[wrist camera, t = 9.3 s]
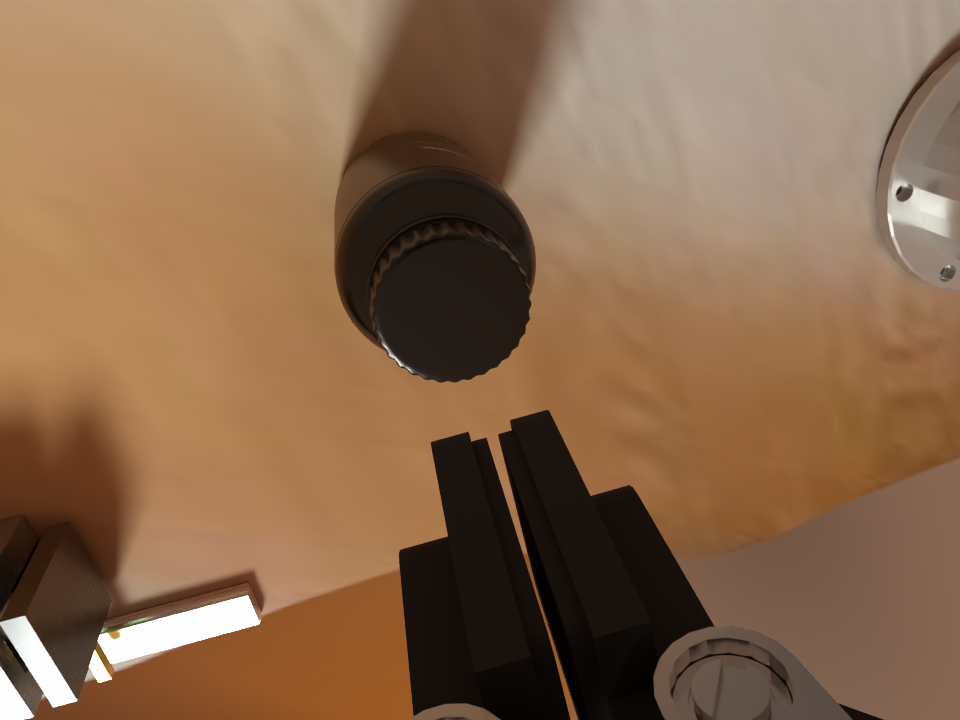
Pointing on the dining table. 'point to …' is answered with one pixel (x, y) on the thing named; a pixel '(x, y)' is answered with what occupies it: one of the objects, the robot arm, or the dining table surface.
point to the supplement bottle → (432, 257)
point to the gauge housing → (114, 623)
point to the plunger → (59, 616)
